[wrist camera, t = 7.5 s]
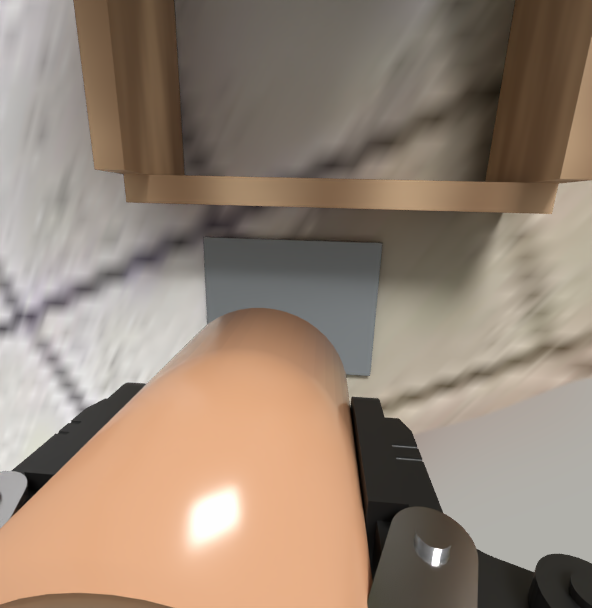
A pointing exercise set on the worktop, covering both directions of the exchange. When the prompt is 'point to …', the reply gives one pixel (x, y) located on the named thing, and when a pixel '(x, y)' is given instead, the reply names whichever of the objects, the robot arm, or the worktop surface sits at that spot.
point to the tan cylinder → (207, 486)
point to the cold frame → (340, 192)
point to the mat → (301, 287)
